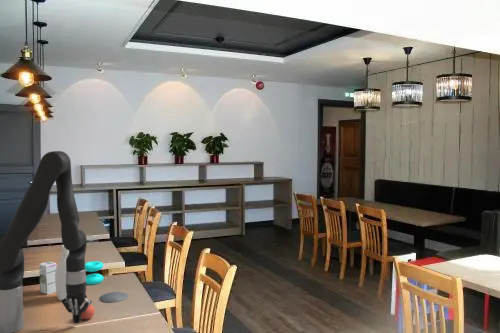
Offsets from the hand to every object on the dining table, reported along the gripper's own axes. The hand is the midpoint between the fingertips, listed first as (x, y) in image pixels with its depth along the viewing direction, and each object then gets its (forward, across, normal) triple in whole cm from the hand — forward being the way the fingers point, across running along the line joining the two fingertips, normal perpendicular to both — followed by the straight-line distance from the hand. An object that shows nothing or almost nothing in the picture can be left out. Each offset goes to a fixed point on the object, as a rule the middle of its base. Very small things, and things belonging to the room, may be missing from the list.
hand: (77, 322), depth 172 cm
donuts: (+2, +26, -48) cm, 54 cm away
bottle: (+2, +24, -25) cm, 35 cm away
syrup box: (+2, +38, -29) cm, 48 cm away
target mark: (+2, +3, -32) cm, 32 cm away
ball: (-1, +1, -8) cm, 8 cm away
